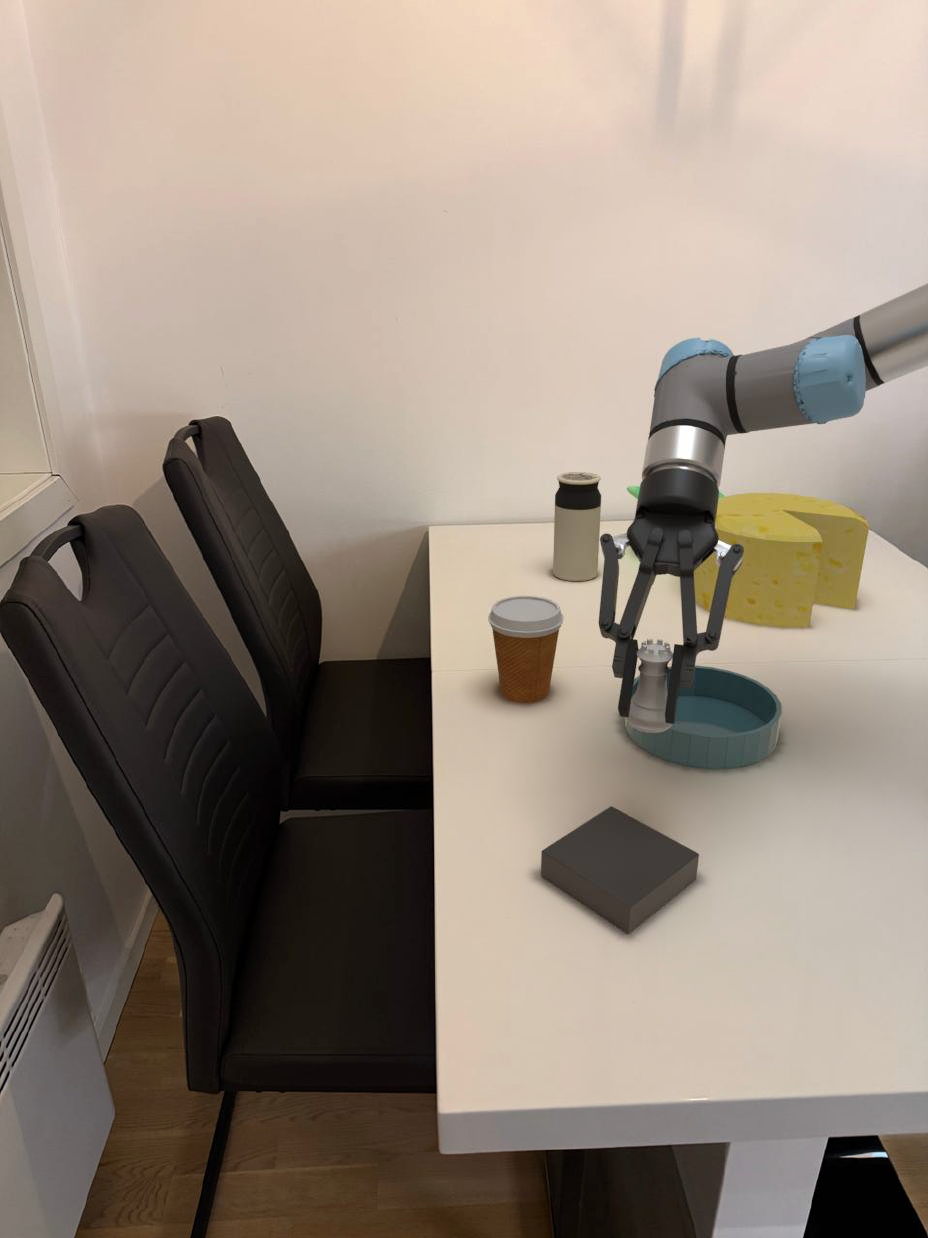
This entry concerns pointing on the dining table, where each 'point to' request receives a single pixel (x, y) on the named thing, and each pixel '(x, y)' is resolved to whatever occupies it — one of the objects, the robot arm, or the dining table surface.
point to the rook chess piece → (651, 688)
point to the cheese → (786, 557)
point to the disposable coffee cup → (525, 645)
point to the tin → (716, 722)
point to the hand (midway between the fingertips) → (646, 715)
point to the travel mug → (577, 526)
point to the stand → (619, 868)
